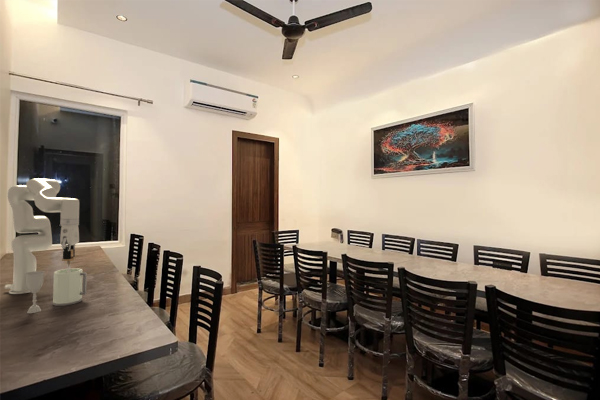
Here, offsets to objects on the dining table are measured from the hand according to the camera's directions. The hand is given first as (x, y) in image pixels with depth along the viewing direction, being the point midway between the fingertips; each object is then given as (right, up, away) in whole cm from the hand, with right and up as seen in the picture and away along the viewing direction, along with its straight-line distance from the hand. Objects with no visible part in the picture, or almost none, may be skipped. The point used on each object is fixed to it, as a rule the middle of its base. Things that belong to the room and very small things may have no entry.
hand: (68, 257), depth 152 cm
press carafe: (0, -23, 0) cm, 23 cm away
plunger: (0, -17, 0) cm, 17 cm away
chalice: (-6, -23, -13) cm, 27 cm away
